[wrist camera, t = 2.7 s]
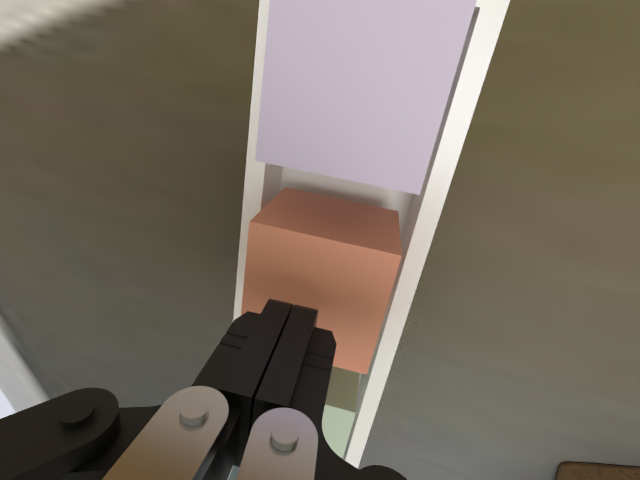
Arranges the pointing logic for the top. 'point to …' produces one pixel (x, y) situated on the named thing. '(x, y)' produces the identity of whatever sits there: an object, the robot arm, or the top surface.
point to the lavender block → (359, 86)
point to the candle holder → (596, 472)
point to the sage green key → (340, 408)
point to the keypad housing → (380, 198)
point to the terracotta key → (326, 266)
